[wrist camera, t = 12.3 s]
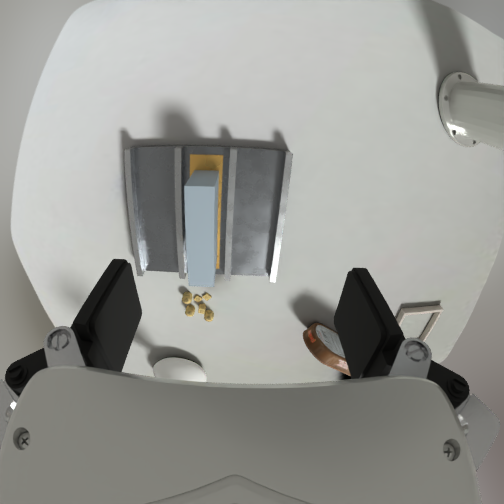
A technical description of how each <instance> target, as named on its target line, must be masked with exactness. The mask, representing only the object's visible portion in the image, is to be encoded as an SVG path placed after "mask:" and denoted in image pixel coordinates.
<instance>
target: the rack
mask: <svg viewBox="0 0 504 504" xmlns="http://www.w3.org/2000/svg"><path fill="white" fill-rule="evenodd" d="M292 158H293V154H292V153H291V152H290V151H287V150H277V149H266V148H252V147H235V146H208V145H163V146H137V147H130V148H128V149H125V150H124V160H125V179H126V192H127V203H128V213H129V222H130V230H131V238H132V245H133V252H134V258H135V265H136V270H137V276H143V274H144V272H145V270H147V271H164V272H179V278H182V279H185V277H186V273H188V267H187V250H186V229H185V196H184V186H185V184H186V183H187V181H188V180H189V178H190V176H191V175H192V173H193V172H194V170H217V171H219V189H218V233H217V263H216V273H215V274H225V278H224V280H226V281H230V275H256V276H269V281H270V282H275V281H276V274H277V268H278V261H279V254H280V248H281V241H282V234H283V227H284V219H285V212H286V205H287V197H288V190H289V182H290V174H291V166H292Z"/></svg>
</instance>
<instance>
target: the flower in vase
mask: <svg viewBox="0 0 504 504" xmlns="http://www.w3.org/2000/svg"><path fill="white" fill-rule="evenodd" d="M153 372H154V376H155V377H158V378H166V379H175V380H185V381H197V382H206V380H207V375H206V373H205V371H204V370H203V368H202V367H200V366H199V365H198V364H196V363H194V362H192V361H190V360H187V359H183V358H174V357H172V358H165V359H162V360H160V361H158V362H157V363H156V364H155V365H154V367H153Z"/></svg>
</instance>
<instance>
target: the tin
mask: <svg viewBox="0 0 504 504" xmlns="http://www.w3.org/2000/svg"><path fill="white" fill-rule="evenodd" d="M303 339H304V342H305V344H306V346H307V347H308V349H309V351H310V352H311V353H312V354H313V356H314V357H315V358H316V359H318V360H319V361H320V362H321V363H323V364H325V365H327V366H329V367H331V368H333V369H336V370H338V371H340V372H343V373H345V374H347V375H350V372H349V368H348V365H347V362H346V359H345V355H344V352H343V349H342V346H341V343H340V340H339V337H338V333H337V332H335V331H333V330H331V329H330V328H328V327H326V326H325V325H323V324H321V323H314V324H313V325H311V326H310V327H309V328H308V329H307V330H305V331H304V332H303ZM350 376H351V375H350Z"/></svg>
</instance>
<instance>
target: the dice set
mask: <svg viewBox="0 0 504 504" xmlns="http://www.w3.org/2000/svg"><path fill="white" fill-rule="evenodd" d="M203 298H204V299H205V300H209V299H210V298H211V296H210V295H209V294H208V293H206V294H205V295H203ZM191 300H192V294H191V293H190V292H185V293H184V294H183V297H182V301H183V303H185V304H190V302H191ZM194 300H195V301H197V302H198V303H199V302H200V301H201V300H202V297H200V296H198V295H197V296H196V297H195V298H194ZM205 309H206V306H205V304H199V310H198V313H202V314H204V312H205ZM194 312H195V307H194V306H193V305H187V307H186V311H185V313H186V315H187V316H189V317H190V316H193V315H194ZM213 316H214V313H213V311H211V310H206V312H205V315H204V319H205V320H206V321H208V322H209V321H212V320H213Z"/></svg>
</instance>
